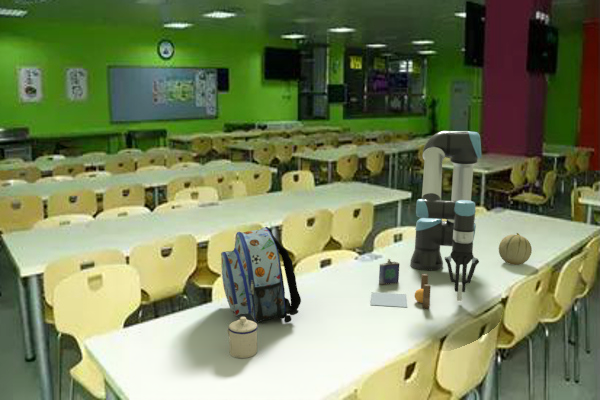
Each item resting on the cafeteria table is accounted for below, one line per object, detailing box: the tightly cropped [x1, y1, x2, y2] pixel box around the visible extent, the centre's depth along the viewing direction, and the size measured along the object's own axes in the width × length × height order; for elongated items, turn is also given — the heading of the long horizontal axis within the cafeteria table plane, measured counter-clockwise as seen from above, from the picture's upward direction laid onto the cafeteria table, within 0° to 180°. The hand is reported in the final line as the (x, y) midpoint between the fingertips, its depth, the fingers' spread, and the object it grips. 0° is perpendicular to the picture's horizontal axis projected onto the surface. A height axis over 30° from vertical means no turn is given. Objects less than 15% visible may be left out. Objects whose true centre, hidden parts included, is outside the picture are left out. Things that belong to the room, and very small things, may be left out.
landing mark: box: [370, 291, 408, 308], centre depth 224 cm, size 14×14×1 cm
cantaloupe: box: [498, 232, 532, 266], centre depth 270 cm, size 15×15×15 cm
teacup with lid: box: [227, 316, 258, 359], centre depth 178 cm, size 12×9×12 cm
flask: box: [378, 258, 400, 286], centre depth 242 cm, size 9×3×11 cm, turn 109°
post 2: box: [422, 284, 431, 310], centre depth 215 cm, size 3×3×9 cm
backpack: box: [220, 226, 302, 324], centre depth 208 cm, size 33×25×31 cm
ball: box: [414, 288, 423, 304], centre depth 220 cm, size 6×6×6 cm
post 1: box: [420, 273, 429, 289], centre depth 227 cm, size 3×3×9 cm
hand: (459, 299), depth 219 cm, fingers closed
